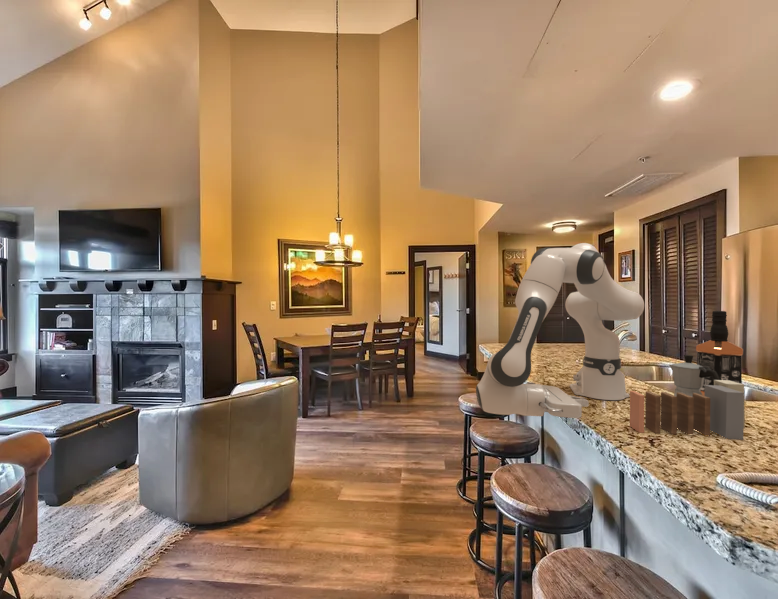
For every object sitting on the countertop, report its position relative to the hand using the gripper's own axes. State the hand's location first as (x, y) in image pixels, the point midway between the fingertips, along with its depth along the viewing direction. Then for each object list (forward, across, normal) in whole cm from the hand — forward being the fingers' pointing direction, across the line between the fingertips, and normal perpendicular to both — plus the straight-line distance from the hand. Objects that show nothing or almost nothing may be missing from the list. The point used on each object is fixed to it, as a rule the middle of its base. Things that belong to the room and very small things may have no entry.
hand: (586, 402), depth 105 cm
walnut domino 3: (+25, 0, +7) cm, 26 cm away
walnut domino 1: (+17, 0, +7) cm, 18 cm away
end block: (+34, 0, +7) cm, 35 cm away
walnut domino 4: (+29, 0, +7) cm, 30 cm away
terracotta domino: (+13, 0, +7) cm, 15 cm away
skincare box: (+42, +9, +7) cm, 44 cm away
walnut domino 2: (+21, 0, +7) cm, 22 cm away
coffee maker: (+39, +20, +7) cm, 45 cm away
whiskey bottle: (+54, +31, +7) cm, 63 cm away
